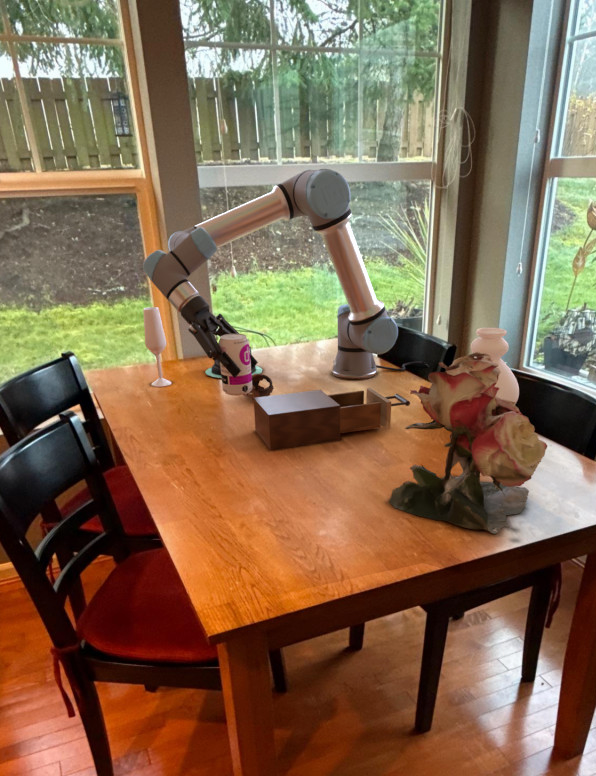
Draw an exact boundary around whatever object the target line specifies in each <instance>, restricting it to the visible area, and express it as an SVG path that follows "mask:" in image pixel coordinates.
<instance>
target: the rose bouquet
mask: <svg viewBox="0 0 596 776" xmlns="http://www.w3.org/2000/svg"><path fill="white" fill-rule="evenodd" d="M475 357H477V358H475ZM438 365H439V367H440V368H444V369H445V371H444V372H442V371H435V372H430V373H429V374H428V376H427V377H428V378H427V379H428V381H430V383H431V385H430V386H429V387H427V386H424V385H420V386H419V390H416V389H413V390H412V389H410V391H409V393H410V395H415V396H417V398H418V399H419V400H420V404H421V405H422V408H423V411H424V412H425V413H426V414H427V415H428V416H429V418H430V419H431V420H432V421H429V422H415V423H412V424H409V425H407V426H406V427H404V429H405V430H412V429H413V430H414V429H415V430H425V431H426V430H427V431H429V430H438V429H445V431H447V432H450V435H449V439H450V440H449V441H450V442H447V443H444V448H448V451H447V455H446V459H445V468H444V476H443V477H439V476H437V475H438V474H437V473H436V472H433V471H431V470H429V469H427V468H426V467H425V466H423V465H418V464H412V465H411V466H410V467H409V469H410V470H411V472H412V478H413V479H414V480H415V482H413V481H411V480H406V481H404V482H403V483H402V484H401V485H400V486H399V487H395V488H394V489H392V490H391V495H390V498H389V500H388V503H389V504H390V505H392V507H393V508H395V509H398V510H399V511H403V512H405V513H409V514H411V515H414V516H417V517H423V518H426V519H431V520H434V521H445V522H447V523H450V524H453V525H455V526H458V527H461V528H465V529H469V530H475V531H477V530H485V531H487V532H488V533H491V534H494V535H495V534H498V533H500V530H501V529H502V528H504V527H505V528H508V529H511V530H515V531H516V529H515V528H512V527H510V526H509V523H508V521H507V516H511V515H517V514H521V513H522V512H523V510H524V508H526V505H527V502H528V496H529V493H530V490H529V489H528V488H526V487H524V486H523V485H524V484H525V482H528V481H529V480H531V479H532V476H533V475H534V473H535V472H536V470H537V468H538V466H539V464H540V463H541V462H542V459H543V458H544V457H545V454H546V450H547V449H548V444H547V443H546V442H545V441H542V440H541V439H540V438H539V436H538V435H539V434H538V433H536V432H535V430H536V428H535V426H534V425H533V424H532V423H531V422H530V420H529V417H528V416H526V415H523V413H522V412H521V411H520V409H519V407H518V406H516V404H515V402H512V401H508V400H504V399H500V398H498V397H497V396H496V394H497V391H498V390H499V388H498V387H494V386H495V385H496V383H497V381H498V376H499V374H500V369H499V368H496V367H498V366H499V365H498V364H496V363H493V361H492V360H491V356H489V355H488V354H484V353H483V354H482V353H480V352H475V353H473V352H472V353H470V354H467V355H465V356H460V357H458V358H456V359H454V360H453V361H452V364H450V365H449V366H448V365H446V364H445V363H444V361H441V362H438ZM458 463H459V465H460V467H461V469H462V472H461V474H460V475H459V476H453V475H452V473H451V472H452V469H453V468H454V467H455V466H456V465H457V464H458ZM481 476H483V477H486V476H487V478H488V477H490V478H491V480H492V482H489V481H481ZM484 480H485V479H484ZM521 486H523V487H521Z"/></svg>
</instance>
